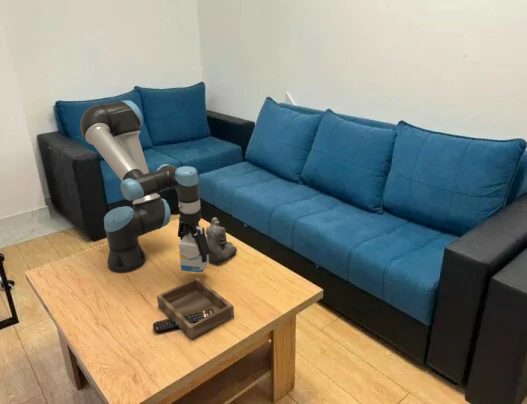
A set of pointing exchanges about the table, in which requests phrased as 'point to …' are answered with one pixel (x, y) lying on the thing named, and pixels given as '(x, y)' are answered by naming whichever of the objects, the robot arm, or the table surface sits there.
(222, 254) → the figurine
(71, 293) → the table surface
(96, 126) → the robot arm
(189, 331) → the tray
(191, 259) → the ink box
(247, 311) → the table surface
